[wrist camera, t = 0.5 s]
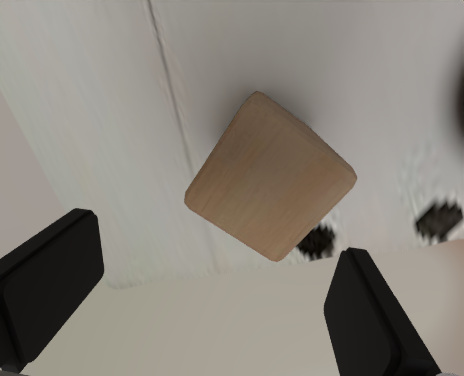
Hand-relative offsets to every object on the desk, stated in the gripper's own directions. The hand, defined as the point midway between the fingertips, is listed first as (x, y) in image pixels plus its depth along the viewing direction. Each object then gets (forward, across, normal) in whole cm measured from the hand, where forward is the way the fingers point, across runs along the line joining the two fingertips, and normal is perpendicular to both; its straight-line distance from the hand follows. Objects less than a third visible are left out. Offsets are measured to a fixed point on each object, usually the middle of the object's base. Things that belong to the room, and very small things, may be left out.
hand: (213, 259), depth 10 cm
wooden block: (+30, -2, +1) cm, 30 cm away
